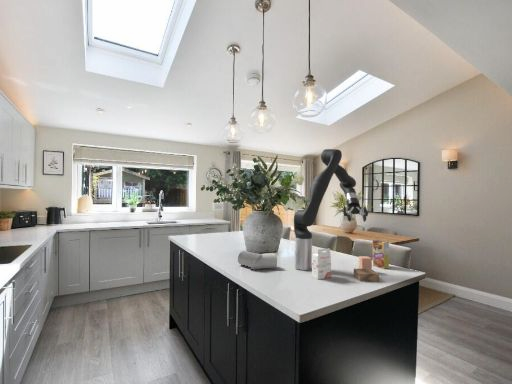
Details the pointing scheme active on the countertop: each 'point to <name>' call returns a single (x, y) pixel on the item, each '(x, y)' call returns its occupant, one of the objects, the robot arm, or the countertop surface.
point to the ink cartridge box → (321, 264)
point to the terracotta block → (365, 262)
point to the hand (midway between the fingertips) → (357, 220)
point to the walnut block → (366, 275)
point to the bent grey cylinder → (257, 260)
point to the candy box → (381, 254)
